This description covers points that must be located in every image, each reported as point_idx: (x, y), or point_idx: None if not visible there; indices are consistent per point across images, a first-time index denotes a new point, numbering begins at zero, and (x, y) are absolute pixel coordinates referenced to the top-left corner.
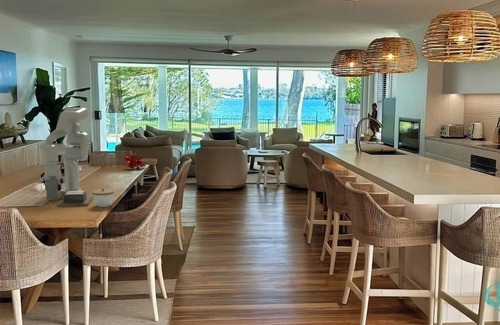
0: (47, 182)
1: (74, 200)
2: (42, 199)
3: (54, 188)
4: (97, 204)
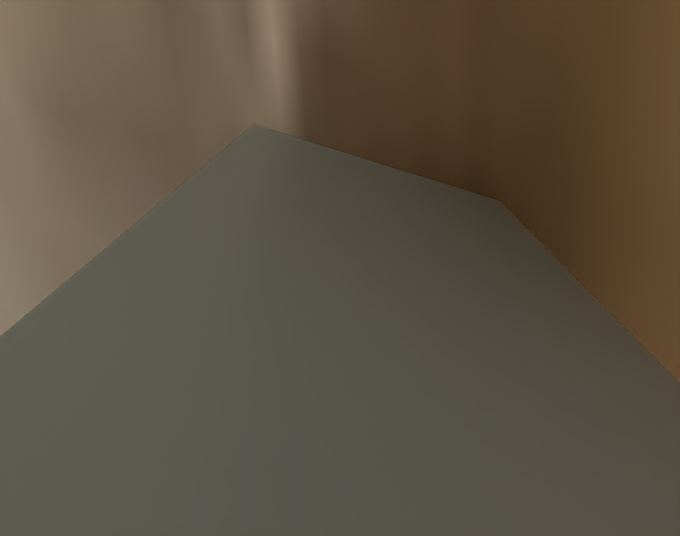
0: None
1: None
2: (89, 251)
3: None
4: None
